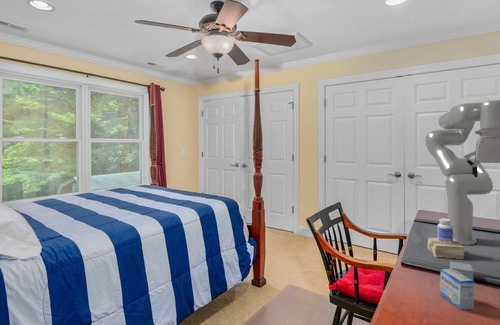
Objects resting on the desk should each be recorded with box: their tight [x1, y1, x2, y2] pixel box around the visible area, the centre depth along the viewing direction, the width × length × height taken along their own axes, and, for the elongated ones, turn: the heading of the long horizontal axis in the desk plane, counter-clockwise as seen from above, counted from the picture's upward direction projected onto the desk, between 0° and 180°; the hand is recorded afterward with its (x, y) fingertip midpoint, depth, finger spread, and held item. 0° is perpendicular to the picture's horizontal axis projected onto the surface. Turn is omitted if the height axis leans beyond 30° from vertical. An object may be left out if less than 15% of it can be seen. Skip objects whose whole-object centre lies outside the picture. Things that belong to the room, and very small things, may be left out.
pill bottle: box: [437, 218, 453, 244], centre depth 119 cm, size 5×5×10 cm
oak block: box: [427, 237, 465, 260], centre depth 119 cm, size 10×10×5 cm
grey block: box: [449, 260, 474, 280], centre depth 100 cm, size 6×6×4 cm
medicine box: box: [439, 268, 475, 311], centre depth 85 cm, size 8×4×9 cm, turn 5°
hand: (491, 177), depth 109 cm, fingers open, 9 cm apart
